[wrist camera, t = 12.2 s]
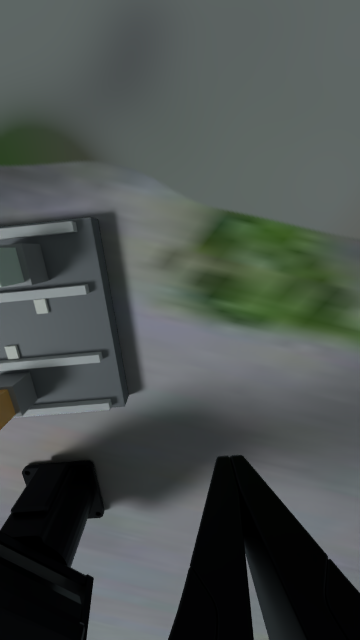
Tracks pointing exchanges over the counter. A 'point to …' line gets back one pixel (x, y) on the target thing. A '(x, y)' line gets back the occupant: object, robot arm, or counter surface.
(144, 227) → the counter surface
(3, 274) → the fader
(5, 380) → the fader
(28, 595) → the robot arm
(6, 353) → the console
